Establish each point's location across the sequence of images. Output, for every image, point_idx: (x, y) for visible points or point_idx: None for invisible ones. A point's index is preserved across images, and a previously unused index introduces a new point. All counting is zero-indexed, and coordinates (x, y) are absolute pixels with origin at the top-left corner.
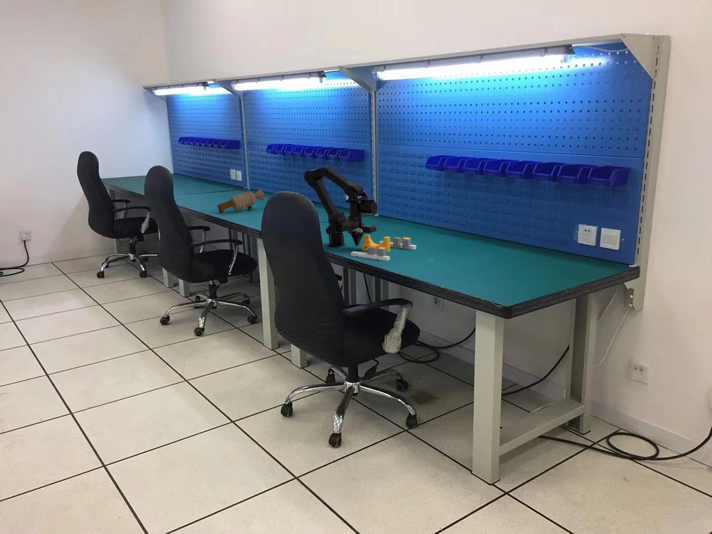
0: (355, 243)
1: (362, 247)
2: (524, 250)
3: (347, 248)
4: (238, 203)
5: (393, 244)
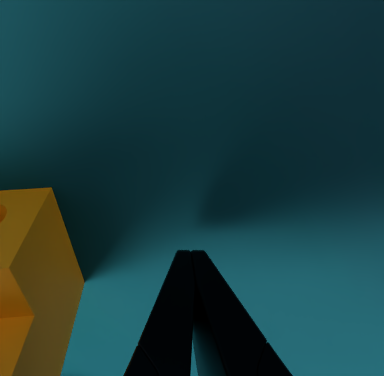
0: (204, 274)
1: (33, 215)
2: None
3: (316, 183)
4: None
5: None
